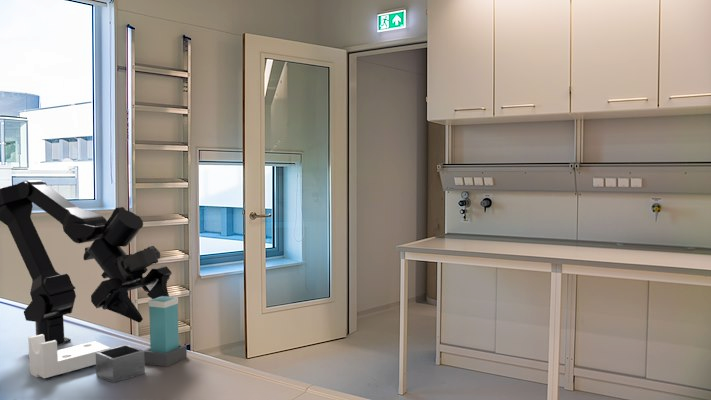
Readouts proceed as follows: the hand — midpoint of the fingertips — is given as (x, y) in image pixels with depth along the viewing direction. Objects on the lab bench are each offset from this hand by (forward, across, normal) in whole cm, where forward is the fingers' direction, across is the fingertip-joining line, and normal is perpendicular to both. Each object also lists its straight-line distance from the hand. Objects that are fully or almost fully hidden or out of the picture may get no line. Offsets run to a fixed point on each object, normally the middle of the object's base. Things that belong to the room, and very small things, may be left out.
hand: (156, 315), depth 119 cm
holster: (+8, 0, +5) cm, 10 cm away
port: (+6, -10, +7) cm, 13 cm away
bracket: (-2, -10, +16) cm, 19 cm away
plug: (+8, 0, +5) cm, 10 cm away
